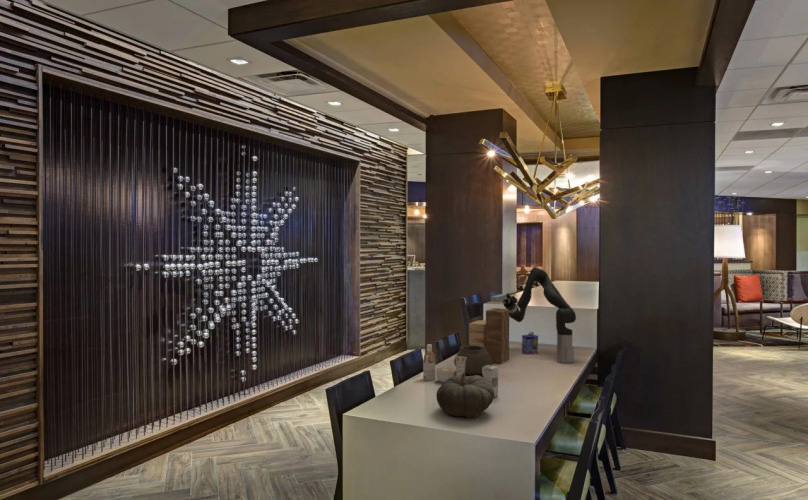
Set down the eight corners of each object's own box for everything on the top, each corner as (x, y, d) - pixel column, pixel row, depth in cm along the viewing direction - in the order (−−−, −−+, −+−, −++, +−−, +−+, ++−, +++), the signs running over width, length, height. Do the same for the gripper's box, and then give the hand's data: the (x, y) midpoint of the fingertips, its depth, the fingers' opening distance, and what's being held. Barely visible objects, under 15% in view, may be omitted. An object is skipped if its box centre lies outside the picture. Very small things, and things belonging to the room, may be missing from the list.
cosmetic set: (470, 382, 286) (470, 347, 285) (463, 386, 278) (463, 350, 277) (427, 376, 298) (428, 342, 298) (419, 380, 290) (420, 345, 290)
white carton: (487, 394, 264) (487, 364, 264) (498, 396, 260) (498, 366, 260) (481, 396, 260) (481, 366, 259) (492, 399, 256) (492, 368, 256)
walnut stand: (493, 357, 349) (494, 308, 349) (508, 359, 345) (509, 309, 344) (485, 362, 335) (485, 310, 335) (501, 364, 331) (501, 311, 330)
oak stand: (478, 352, 365) (479, 320, 365) (492, 354, 361) (493, 321, 360) (468, 357, 349) (469, 323, 349) (483, 359, 345) (483, 324, 344)
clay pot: (491, 379, 293) (491, 352, 293) (451, 377, 297) (452, 350, 297) (492, 370, 314) (492, 344, 314) (456, 368, 318) (456, 343, 318)
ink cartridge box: (526, 354, 360) (526, 332, 360) (521, 353, 365) (521, 331, 365) (538, 353, 364) (538, 332, 364) (533, 351, 369) (533, 330, 369)
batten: (503, 298, 357) (503, 293, 357) (509, 298, 355) (509, 293, 355) (490, 301, 334) (490, 296, 334) (496, 302, 332) (496, 297, 332)
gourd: (494, 398, 246) (490, 363, 244) (498, 426, 222) (494, 386, 219) (439, 402, 249) (435, 367, 246) (437, 429, 225) (433, 390, 222)
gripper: (501, 299, 368) (494, 288, 355) (521, 300, 361) (515, 289, 348) (499, 309, 365) (492, 299, 352) (520, 311, 358) (513, 300, 345)
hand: (503, 294), depth 350 cm, fingers closed on batten, 4 cm apart
